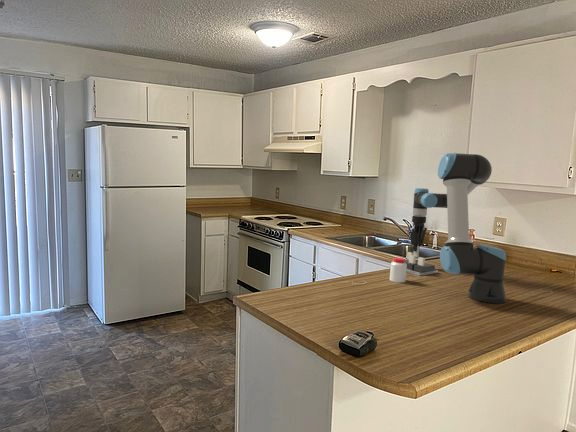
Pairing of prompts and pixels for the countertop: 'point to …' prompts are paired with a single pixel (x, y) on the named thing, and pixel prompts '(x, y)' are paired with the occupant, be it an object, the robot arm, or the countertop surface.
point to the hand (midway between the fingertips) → (415, 256)
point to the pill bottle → (398, 270)
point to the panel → (420, 268)
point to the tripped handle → (409, 254)
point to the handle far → (421, 261)
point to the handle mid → (412, 259)
